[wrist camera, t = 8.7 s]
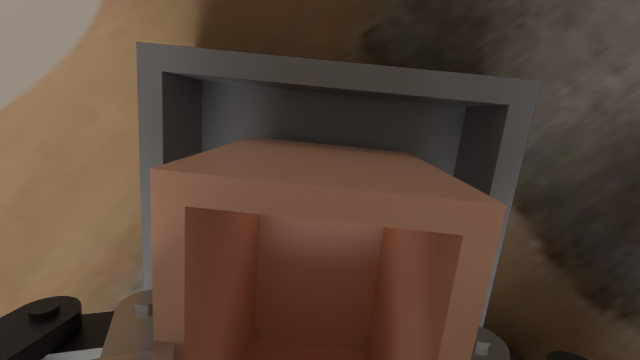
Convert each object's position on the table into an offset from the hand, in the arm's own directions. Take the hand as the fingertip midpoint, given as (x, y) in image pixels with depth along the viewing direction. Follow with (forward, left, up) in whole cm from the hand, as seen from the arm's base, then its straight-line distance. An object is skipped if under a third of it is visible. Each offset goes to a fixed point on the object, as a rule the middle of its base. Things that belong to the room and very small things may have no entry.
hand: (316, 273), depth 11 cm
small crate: (0, 0, -2) cm, 2 cm away
